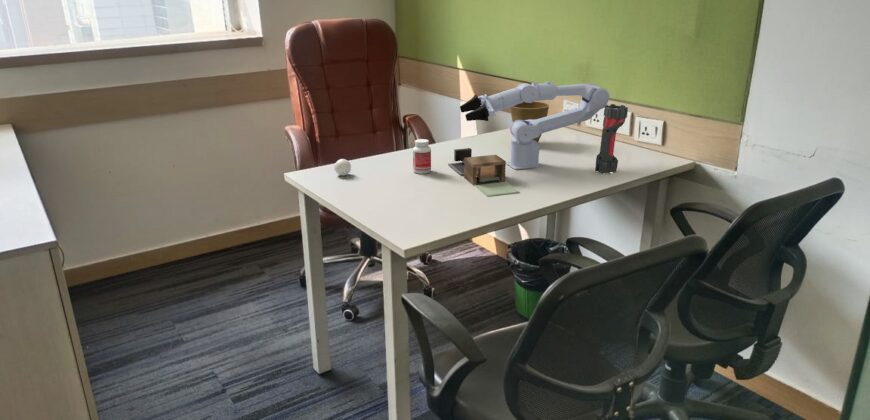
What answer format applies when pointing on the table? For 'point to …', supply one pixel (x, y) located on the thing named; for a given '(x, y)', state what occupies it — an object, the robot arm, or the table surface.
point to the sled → (482, 172)
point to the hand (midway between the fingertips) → (463, 113)
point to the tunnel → (481, 161)
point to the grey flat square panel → (458, 167)
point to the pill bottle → (422, 157)
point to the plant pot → (529, 112)
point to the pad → (497, 189)
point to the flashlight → (610, 137)
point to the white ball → (342, 167)
